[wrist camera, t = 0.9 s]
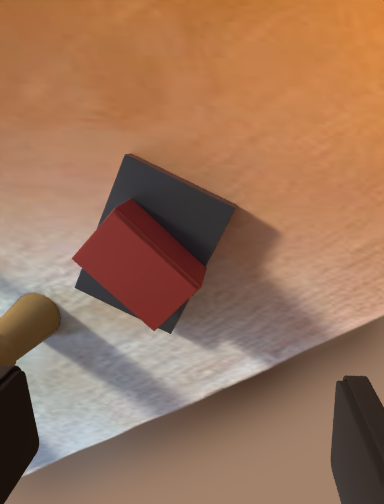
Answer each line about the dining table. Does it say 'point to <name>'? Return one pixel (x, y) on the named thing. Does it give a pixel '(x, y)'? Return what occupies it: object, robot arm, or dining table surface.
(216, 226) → the slate hardcover
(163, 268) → the pocket dictionary
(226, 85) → the dining table surface
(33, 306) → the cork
